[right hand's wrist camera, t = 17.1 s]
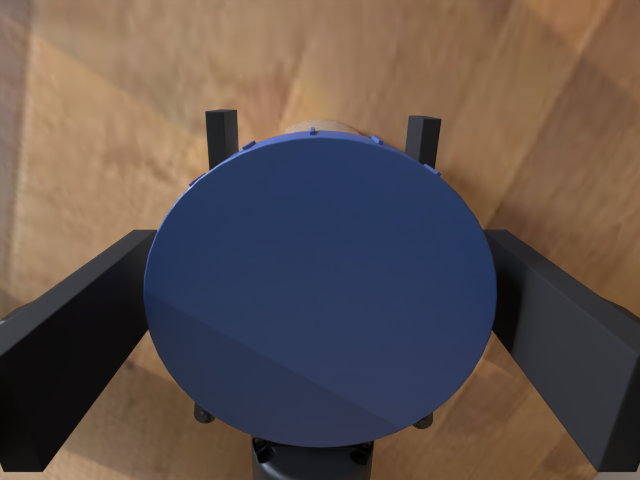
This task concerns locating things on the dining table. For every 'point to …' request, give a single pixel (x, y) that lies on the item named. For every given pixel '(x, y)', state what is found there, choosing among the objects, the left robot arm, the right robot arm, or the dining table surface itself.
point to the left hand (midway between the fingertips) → (323, 114)
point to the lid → (320, 290)
